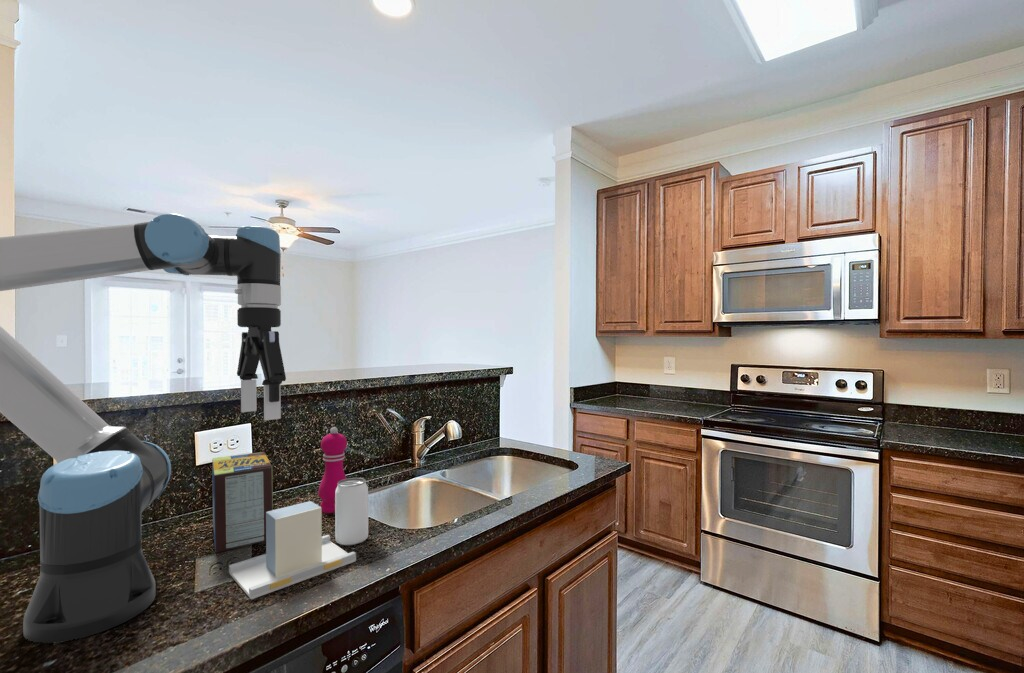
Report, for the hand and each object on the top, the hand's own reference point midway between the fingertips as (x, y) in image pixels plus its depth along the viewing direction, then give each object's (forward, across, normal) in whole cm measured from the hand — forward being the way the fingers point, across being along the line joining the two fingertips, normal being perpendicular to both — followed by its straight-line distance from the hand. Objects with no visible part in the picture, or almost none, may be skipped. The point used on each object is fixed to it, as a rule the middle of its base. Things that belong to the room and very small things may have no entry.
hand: (260, 415), depth 93 cm
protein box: (+27, -12, 0) cm, 30 cm away
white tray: (+27, +12, +2) cm, 29 cm away
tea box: (+26, +12, +2) cm, 29 cm away
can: (+27, +8, +15) cm, 32 cm away
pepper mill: (+27, -12, +20) cm, 36 cm away
